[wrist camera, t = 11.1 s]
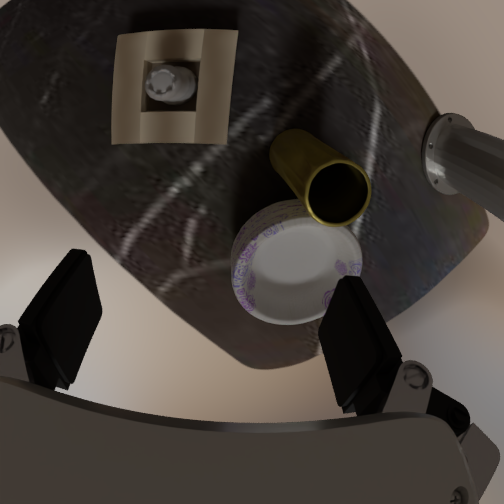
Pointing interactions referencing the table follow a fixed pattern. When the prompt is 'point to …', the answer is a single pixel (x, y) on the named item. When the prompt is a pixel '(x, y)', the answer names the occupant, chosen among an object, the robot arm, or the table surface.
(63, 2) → the table surface
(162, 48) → the socket block
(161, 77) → the rook chess piece
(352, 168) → the vase
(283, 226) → the paper bowls
